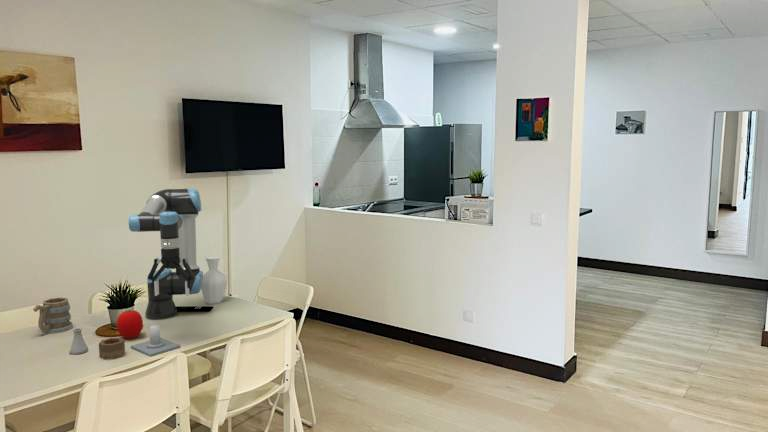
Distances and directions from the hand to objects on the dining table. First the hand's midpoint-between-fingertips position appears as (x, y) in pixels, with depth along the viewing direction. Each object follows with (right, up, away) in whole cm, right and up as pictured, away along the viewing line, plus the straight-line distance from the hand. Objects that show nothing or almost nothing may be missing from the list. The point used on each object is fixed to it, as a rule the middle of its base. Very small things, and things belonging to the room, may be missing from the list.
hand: (172, 295), depth 256 cm
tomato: (-22, -21, +9) cm, 32 cm away
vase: (-1, -13, +68) cm, 69 cm away
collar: (-21, -23, -12) cm, 34 cm away
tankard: (-63, -20, +18) cm, 68 cm away
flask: (-37, -23, -8) cm, 44 cm away
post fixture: (-6, -22, -4) cm, 23 cm away
